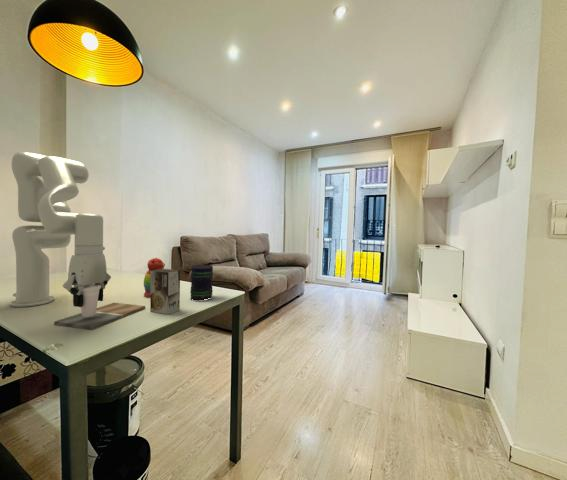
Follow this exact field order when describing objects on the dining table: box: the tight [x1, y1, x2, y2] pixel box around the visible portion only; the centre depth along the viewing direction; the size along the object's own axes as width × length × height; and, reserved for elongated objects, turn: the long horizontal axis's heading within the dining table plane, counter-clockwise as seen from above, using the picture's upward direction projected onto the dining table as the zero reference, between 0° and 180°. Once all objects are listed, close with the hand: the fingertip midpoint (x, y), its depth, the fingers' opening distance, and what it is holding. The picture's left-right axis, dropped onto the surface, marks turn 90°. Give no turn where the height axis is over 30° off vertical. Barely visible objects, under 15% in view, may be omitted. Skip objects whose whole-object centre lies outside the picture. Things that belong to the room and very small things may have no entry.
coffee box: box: [149, 268, 181, 315], centre depth 96 cm, size 9×6×16 cm
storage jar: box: [189, 264, 214, 300], centre depth 115 cm, size 10×10×15 cm
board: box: [53, 302, 146, 330], centre depth 89 cm, size 15×22×1 cm
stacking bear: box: [143, 257, 166, 299], centre depth 118 cm, size 11×10×18 cm
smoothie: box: [77, 284, 101, 316], centre depth 83 cm, size 6×6×14 cm
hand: (88, 302), depth 84 cm, fingers closed on smoothie, 6 cm apart
